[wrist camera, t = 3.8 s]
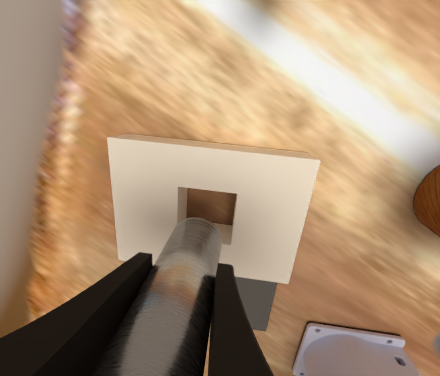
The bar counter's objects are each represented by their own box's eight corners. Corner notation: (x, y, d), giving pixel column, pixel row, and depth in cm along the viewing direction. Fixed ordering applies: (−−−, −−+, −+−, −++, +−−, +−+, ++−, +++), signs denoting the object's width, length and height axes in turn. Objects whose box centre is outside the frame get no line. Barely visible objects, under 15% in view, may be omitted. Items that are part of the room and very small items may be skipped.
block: (306, 152, 16) (320, 160, 13) (281, 259, 19) (288, 284, 16) (129, 133, 16) (106, 137, 14) (135, 239, 20) (118, 259, 17)
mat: (279, 267, 19) (279, 270, 19) (265, 327, 22) (265, 331, 22) (175, 253, 20) (174, 256, 20) (174, 313, 23) (173, 316, 22)
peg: (224, 220, 12) (182, 500, 3) (220, 262, 13) (180, 554, 4) (172, 213, 12) (7, 464, 3) (172, 256, 13) (46, 525, 5)
